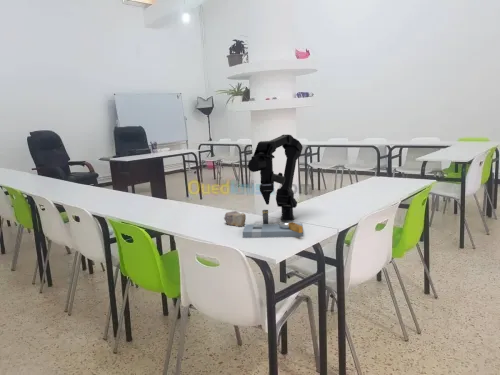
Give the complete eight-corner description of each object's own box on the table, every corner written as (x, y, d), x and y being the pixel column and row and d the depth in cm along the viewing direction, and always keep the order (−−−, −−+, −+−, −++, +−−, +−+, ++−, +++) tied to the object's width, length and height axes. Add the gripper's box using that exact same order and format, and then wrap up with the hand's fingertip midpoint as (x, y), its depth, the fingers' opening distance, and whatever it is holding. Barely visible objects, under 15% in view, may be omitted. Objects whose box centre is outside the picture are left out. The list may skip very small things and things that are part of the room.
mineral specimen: (251, 223, 190) (251, 211, 189) (243, 227, 184) (242, 214, 183) (230, 221, 197) (230, 209, 196) (222, 224, 191) (221, 212, 190)
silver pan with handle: (288, 223, 176) (288, 218, 176) (307, 231, 164) (307, 225, 163) (276, 226, 173) (276, 220, 173) (294, 234, 161) (294, 228, 160)
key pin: (263, 226, 185) (262, 209, 183) (268, 225, 184) (268, 209, 183) (262, 227, 182) (262, 211, 181) (268, 227, 182) (267, 210, 180)
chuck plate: (246, 229, 180) (245, 224, 180) (302, 228, 177) (302, 223, 177) (242, 237, 169) (242, 232, 168) (303, 236, 166) (303, 231, 165)
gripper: (284, 171, 168) (285, 206, 170) (283, 165, 186) (284, 197, 189) (258, 172, 168) (260, 207, 171) (260, 166, 187) (261, 198, 190)
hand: (267, 202), depth 180 cm, fingers open, 9 cm apart
